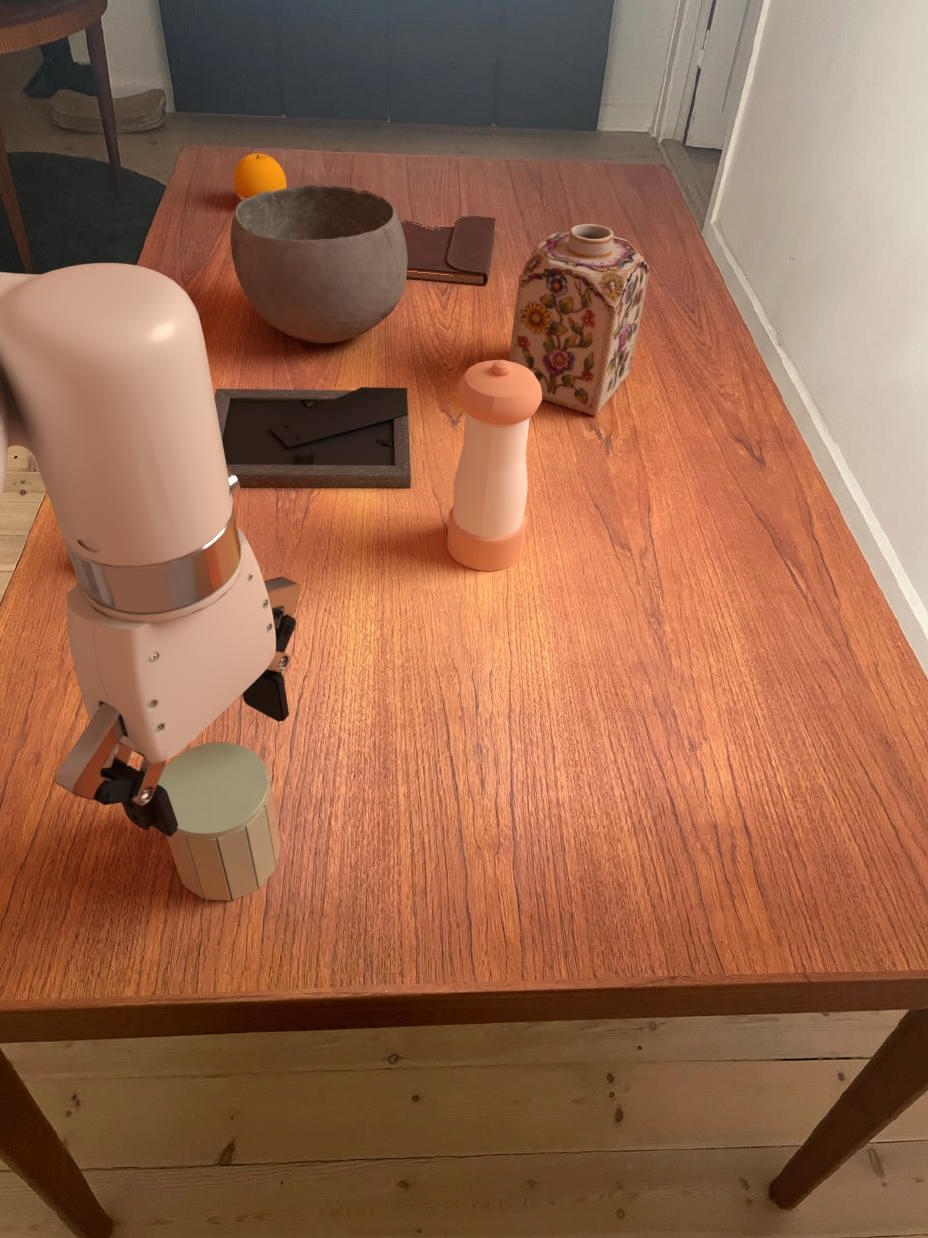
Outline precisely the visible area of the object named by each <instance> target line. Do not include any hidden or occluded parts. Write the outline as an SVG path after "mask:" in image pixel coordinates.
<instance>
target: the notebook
mask: <svg viewBox="0 0 928 1238" xmlns="http://www.w3.org/2000/svg"><path fill="white" fill-rule="evenodd" d="M461 217H462V218H460V219H458V220H457V221H456V222H455V226H454V227H440V228H438V227H436V228H437V229H435V228H432V227H429V226H427V227H429V228H432V229H434V230H432V229H429V228H426V227H422V226H419V225H422V224H419V223H416V224H419V225H415V224H412V223H415V222H411V221H407V220H405V221H406V222H404V223H402V222H403V221H402V222H400V223H401V226H402V229H403V232H404V237H405V241H406V248H407V260H408V262H407V271H417V272H407V276H406V280H416V281H427V282H439V283H449V284H450V283H451V284H458V285H459V284H460V285H469V286H470V285H471V286H482V287H485V286H487V283H488V281H489V276H490V269H491V262H492V257H491V255H492V256H493V250H494V249H493V250H492V245H493V246H494V245H495V244H493V237H494V231H495V230H494V229H495V221H496V222H497V219H496V218H495V217H491V216H479V215H470V216H469V215H468V216H461ZM408 222H409V223H408ZM405 223H406V224H405ZM434 227H435V226H434ZM496 227H498V226H497V225H496ZM425 228H426V229H425ZM441 228H442V229H441ZM438 229H440V230H438ZM489 268H490V269H489ZM418 272H430V273H439V274H429V273H418ZM440 274H449V275H440ZM450 275H453V276H450ZM461 276H462V277H461Z"/></svg>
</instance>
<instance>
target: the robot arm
mask: <svg viewBox="0 0 928 1238" xmlns="http://www.w3.org/2000/svg"><path fill="white" fill-rule="evenodd" d="M212 381H213V380H212V376H211V371H210V365H209V358H208V352H207V348H206V341H205V337H204V332H203V328H202V323H201V320H200V315H199V312H198V310H197V307H196V306H195V304H194V302H193V301H192V299H191V297H190V296H189V294H188V292H186V290H185V289H184V288H183V287H182V286H180V285H179V284H178V283H177V282H176V281H175V280H174V279H173V278H171V277H169V276H167V275H165V274H163V273H161V272H159V271H156V270H155V269H152V268H149V267H145V266H142V265H137V264H128V263H121V262H94V263H83V264H77V265H72V266H66V267H62V268H57V269H54V270H51V271H48V272H47V271H46V272H45V273H41V274H34V273H33V274H32V273H16V272H15V273H14V272H3V271H0V506H1V505H2V499H3V495H4V487H5V480H6V474H7V465H8V464H7V463H8V451H9V448H11V447H14V446H15V447H16V446H18V447H23V448H25V449H26V450H28V451H29V452H30V453H31V454H32V456H33V457H34V460H35V462H36V465H37V468H38V471H39V474H40V476H41V480H42V482H43V485H44V488H45V491H46V494H47V497H48V499H49V502H50V505H51V509H52V510H53V514H54V516H55V519H56V522H57V525H58V527H59V530H60V533H61V536H62V539H63V541H64V544H65V547H66V550H67V552H68V553H67V554H68V555H69V558H70V561H71V563H72V567H73V569H74V572H75V575H76V577H77V580H78V583H77V584H75V586H74V587H73V588H71V589H70V590H69V592H68V593H67V595H66V623H67V634H68V641H69V648H70V654H71V659H72V664H73V668H74V671H75V676H76V680H77V684H78V688H79V692H80V694H81V698H82V701H83V704H84V708H85V710H86V714H87V716H88V719H89V722H88V724H87V726H86V727H85V728H84V730H83V732H82V733H81V734H80V736H79V737H78V739H77V741H76V743H75V744H74V746H73V747H72V749H71V750H70V752H69V753H68V754H67V756H66V757H65V759H64V761H63V762H62V764H61V766H60V767H59V769H58V770H57V771H56V774H55V775H54V779H53V781H54V783H55V784H56V785H58V786H59V787H61V788H63V789H64V790H65V791H67V792H69V793H70V794H72V795H74V796H76V797H79V798H82V799H86V800H89V801H95V802H98V803H99V804H101V805H102V806H109V805H115V804H121V805H122V808H123V810H124V813H125V815H126V817H127V818H128V820H129V821H130V822H131V823H132V824H134V825H136V827H138V828H140V829H141V830H143V831H146V832H147V831H148V830H149V829H150V828H151V827H153V828H154V829H156V830H157V831H158V832H160V833H162V834H163V835H165V836H166V835H167V836H169V837H171V836H172V835H173V834H174V833H175V832H176V831H177V830H178V829H177V827H178V822H177V819H176V817H175V814H174V811H173V808H172V805H171V802H170V799H169V796H168V793H167V791H166V790H165V789H164V788H163V787H162V786H160V785H158V782H159V779H160V776H161V774H162V771H163V768H164V766H166V762H167V761H168V760H170V759H172V758H174V757H176V756H178V755H179V754H180V753H182V751H183V750H184V749H185V748H186V747H188V746H189V745H190V744H191V743H192V742H193V741H195V739H196V738H198V737H199V736H200V735H201V734H202V733H203V732H204V731H205V730H206V729H207V728H208V727H209V726H211V724H213V723H214V721H215V720H217V719H218V718H220V716H221V715H222V714H223V713H224V712H225V711H226V710H227V709H228V708H229V707H230V706H231V705H232V704H233V703H235V701H237V700H238V699H239V698H240V696H242V698H243V702H244V703H245V705H247V706H248V707H250V708H252V709H254V710H256V711H258V712H259V713H262V714H263V715H265V716H267V717H268V718H270V719H272V720H274V721H276V722H278V723H280V722H284V721H285V720H286V719H287V718H288V717H289V716H290V710H289V704H288V697H287V692H286V691H287V690H286V684H285V677H284V675H283V672H284V671H285V670H286V669H287V667H288V665H289V663H290V654H288V653H287V652H286V649H287V647H288V645H289V643H290V640H291V637H292V636H293V633H294V631H295V629H296V625H297V620H296V619H295V617H293V615H294V614H295V613H296V611H297V609H298V603H299V598H300V595H301V591H302V590H301V589H302V587H301V584H299V583H298V582H296V581H294V580H291V579H290V578H287V577H285V576H279V577H278V576H277V577H275V578H270V579H267V580H264V577H263V573H262V571H261V569H260V565H259V562H258V560H257V558H256V556H255V553H254V551H253V548H252V547H251V545H250V543H249V541H248V540H247V537H246V535H245V534H244V532H243V531H242V530H241V529H240V527H238V523H237V518H236V513H235V507H234V501H233V497H234V496H235V495H237V493H239V492H240V491H241V488H242V487H241V486H240V482H239V480H238V479H237V477H236V476H235V475H234V474H233V473H232V472H231V471H229V470H227V466H226V460H225V455H224V449H223V444H222V438H221V432H220V427H219V421H218V415H217V409H216V404H215V398H214V397H215V391H214V387H213V382H212ZM133 752H134V753H136V754H138V755H140V756H141V757H143V759H142V761H141V763H142V764H141V763H140V768H139V770H138V769H136V768H135V767H133V766H131V765H129V762H130V760H131V757H132V753H133Z"/></svg>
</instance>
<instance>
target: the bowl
mask: <svg viewBox="0 0 928 1238" xmlns="http://www.w3.org/2000/svg"><path fill="white" fill-rule="evenodd" d="M230 249H231V258H232V261H233V262H232V263H233V267H234V271H235V275H236V278H237V280H238V283H239V285H240V287H241V290H242V291H243V294H244V295H245V297H246V299H247V301H248V302H249V304H250V305H251V307H252V308H253V309H254V310H255V312H256V313H257V314H258V315H259V316H260V317H261V318H262V319H263V320H264V321H265V322H266V323H268V324H269V325H271V326H272V327H273V328H275V329H277V330H278V331H280V332H282V333H283V334H285V335H286V336H287V335H288V336H289V337H291V338H294V339H297V340H301V341H305V342H308V343H312V344H334V343H339V342H343V341H347V340H350V339H353V338H354V337H358V336H361V335H364V334H366V333H367V332H369V331H371V330H372V329H374V328H375V327H377V326H378V325H379V324H380V323H381V322H383V321H384V320H385V319H386V318H387V317H388V316H389V315H391V314H392V312H394V310H395V309H396V307H397V306H398V305H399V302H400V301H401V299H402V298H403V297H402V296H403V295H404V292H405V287H406V283H407V282H406V281H407V279H406V276H407V262H408V260H407V248H406V241H405V237H404V232H403V229H402V226H401V223H400V220H399V215H398V213H397V210H396V209H395V207H394V205H393V204H392V203H391V202H390V201H389V200H387V199H385V198H384V197H382V196H381V195H378V194H376V193H374V192H372V191H370V190H366V189H362V190H358V189H356V188H353V187H345V186H336V185H330V186H328V185H325V184H306V185H305V184H304V185H297V186H296V185H295V186H292V187H286V189H281V190H276V191H266V192H262V193H259V194H256V195H255V196H251V197H250V198H246V199H244V200H243V201H241V200H240V202H239V203H238V204H237V205H236V207H235V209H234V212H233V215H232V218H231V225H230Z"/></svg>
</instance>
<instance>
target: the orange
mask: <svg viewBox="0 0 928 1238" xmlns="http://www.w3.org/2000/svg"><path fill="white" fill-rule="evenodd" d="M285 174H286V173H285V172H284V169H283V168H282V167H281V165H280V164H279V162H278V161H277V160H276V159H274V158H273V157H272V156H270V155H267V154H264V153H251V154H247V155H245V156H244V157H243V158H242V159H240V160H239V161H238V162H237V164H236V166H235V169H234V172H233V178H232V183H233V188H234V192H235V194H236V195H237V194H239V195H240V196H242V197H245V198H250V197H251V196H255V195H256V194H259V193H262V192H266V191H276V190H281V189H286V188H288V187H287V186H288V183H287V177H286V175H285Z"/></svg>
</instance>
